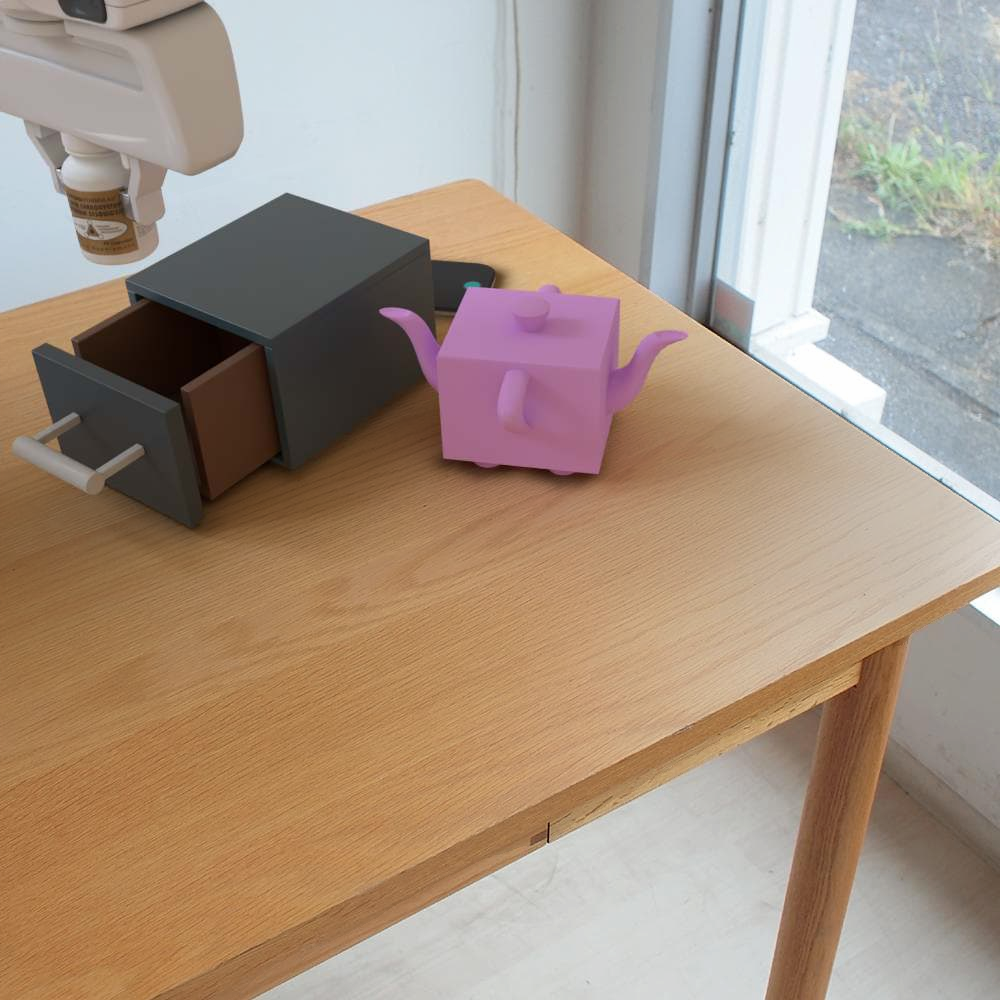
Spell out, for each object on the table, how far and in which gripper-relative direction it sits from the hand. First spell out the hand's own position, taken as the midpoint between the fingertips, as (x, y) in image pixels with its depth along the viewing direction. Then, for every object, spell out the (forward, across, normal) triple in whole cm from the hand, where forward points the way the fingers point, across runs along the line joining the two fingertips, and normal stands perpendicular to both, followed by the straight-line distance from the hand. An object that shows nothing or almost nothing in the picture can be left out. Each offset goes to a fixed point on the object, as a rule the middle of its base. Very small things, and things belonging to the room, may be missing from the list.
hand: (111, 206), depth 74 cm
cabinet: (+21, -2, +14) cm, 25 cm away
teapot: (+21, +16, +18) cm, 32 cm away
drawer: (+20, -2, +3) cm, 20 cm away
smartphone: (+21, -5, +29) cm, 36 cm away
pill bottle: (+3, 0, 0) cm, 3 cm away
